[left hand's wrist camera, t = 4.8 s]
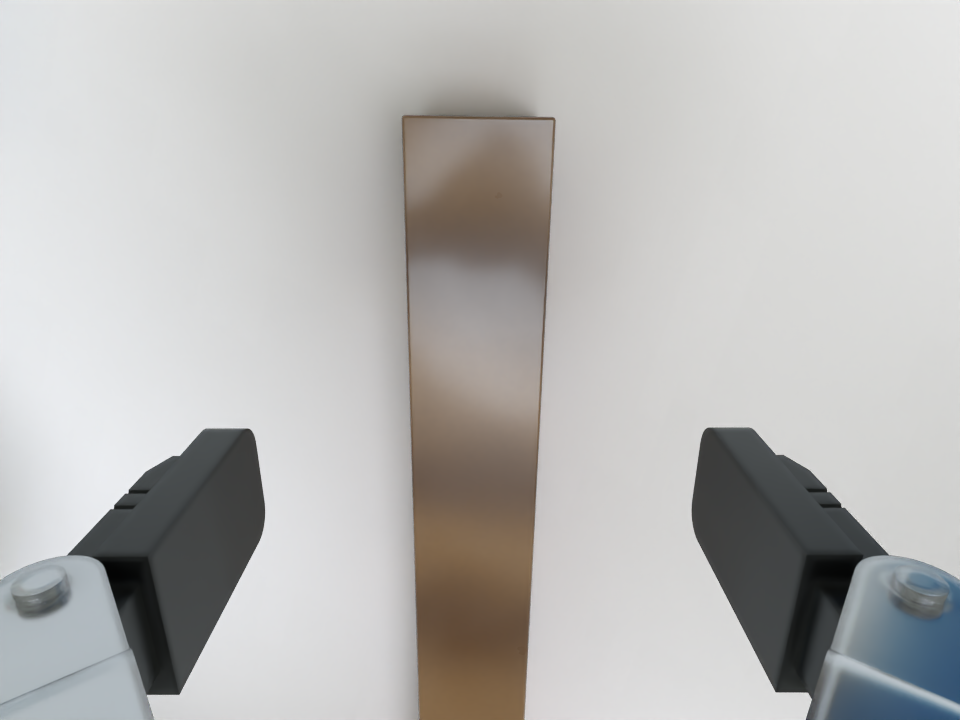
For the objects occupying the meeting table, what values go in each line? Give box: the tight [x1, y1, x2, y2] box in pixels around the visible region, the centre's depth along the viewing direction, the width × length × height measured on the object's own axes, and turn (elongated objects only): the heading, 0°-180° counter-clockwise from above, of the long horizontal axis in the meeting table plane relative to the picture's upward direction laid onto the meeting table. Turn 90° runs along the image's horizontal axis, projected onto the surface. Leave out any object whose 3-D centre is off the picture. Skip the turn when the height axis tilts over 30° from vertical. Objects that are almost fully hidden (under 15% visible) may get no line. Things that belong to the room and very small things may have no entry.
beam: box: [402, 115, 556, 720], centre depth 32 cm, size 56×5×6 cm, turn 179°
